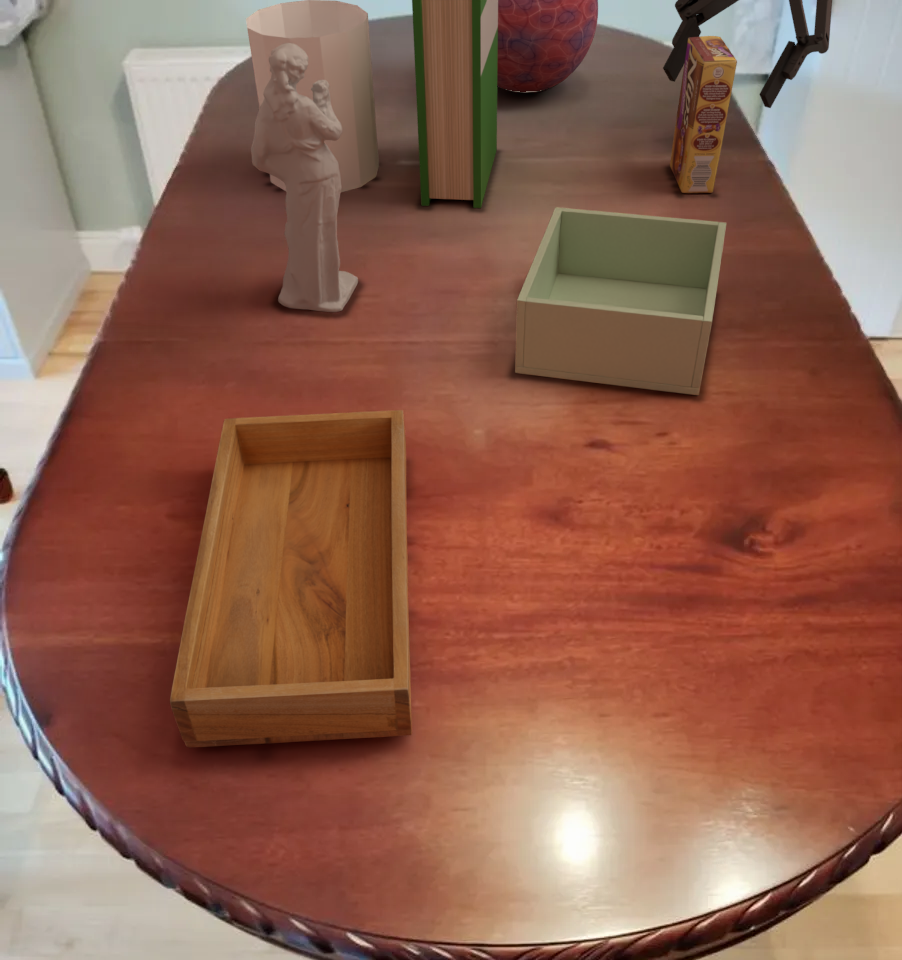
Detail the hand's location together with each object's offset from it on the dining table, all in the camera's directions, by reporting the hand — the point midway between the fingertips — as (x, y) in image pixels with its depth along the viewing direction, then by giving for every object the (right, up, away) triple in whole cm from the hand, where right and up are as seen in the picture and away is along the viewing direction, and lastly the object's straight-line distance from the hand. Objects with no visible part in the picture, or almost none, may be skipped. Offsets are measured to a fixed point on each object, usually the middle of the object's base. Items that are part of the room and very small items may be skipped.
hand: (715, 88), depth 120 cm
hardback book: (-31, -7, +8) cm, 33 cm away
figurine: (-46, -28, -12) cm, 56 cm away
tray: (-43, -61, -43) cm, 86 cm away
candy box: (-1, -9, +6) cm, 11 cm away
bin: (-15, -34, -19) cm, 42 cm away
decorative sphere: (-21, +15, +29) cm, 39 cm away
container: (-49, -6, +10) cm, 50 cm away
